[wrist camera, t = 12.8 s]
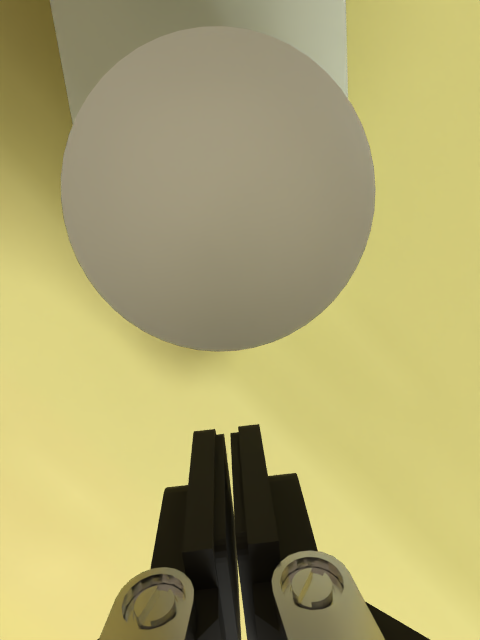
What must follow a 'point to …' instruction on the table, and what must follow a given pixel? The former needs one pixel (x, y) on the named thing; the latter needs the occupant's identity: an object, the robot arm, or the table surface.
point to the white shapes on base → (213, 163)
